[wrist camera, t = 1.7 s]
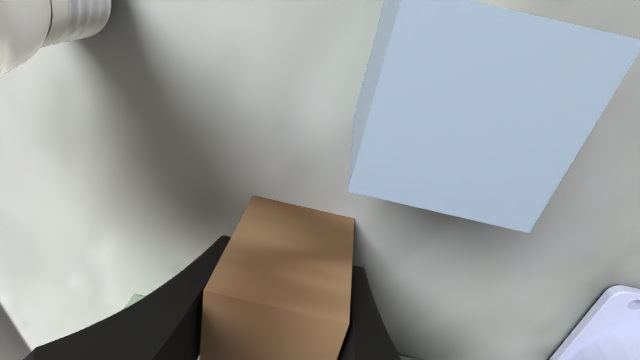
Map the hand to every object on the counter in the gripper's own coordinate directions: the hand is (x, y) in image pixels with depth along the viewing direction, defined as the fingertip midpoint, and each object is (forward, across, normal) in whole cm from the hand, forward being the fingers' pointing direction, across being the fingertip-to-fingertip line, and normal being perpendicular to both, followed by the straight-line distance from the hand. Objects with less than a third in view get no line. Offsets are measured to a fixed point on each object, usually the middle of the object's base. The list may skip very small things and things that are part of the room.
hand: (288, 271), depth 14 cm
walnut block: (+2, 0, 0) cm, 2 cm away
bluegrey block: (+2, -3, -8) cm, 9 cm away
